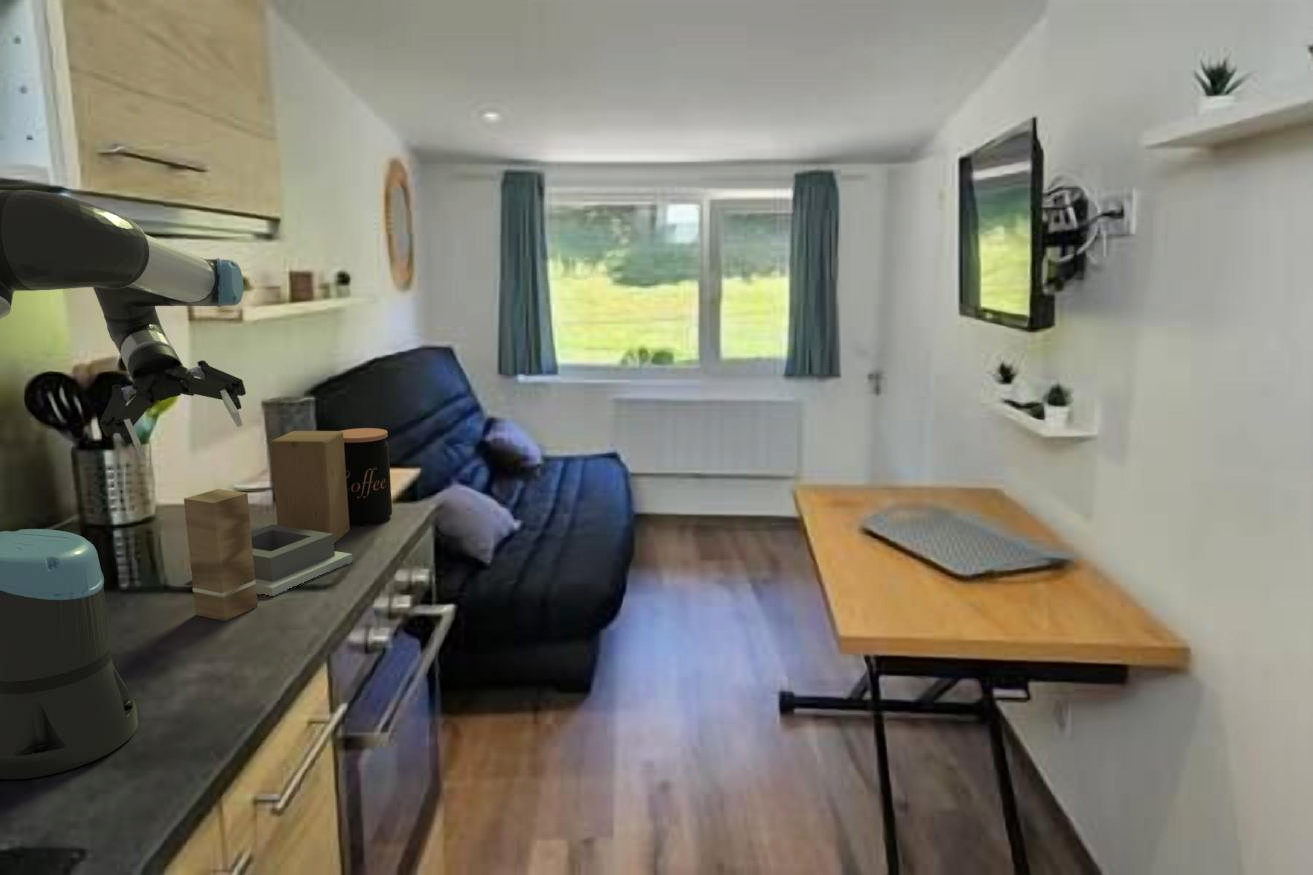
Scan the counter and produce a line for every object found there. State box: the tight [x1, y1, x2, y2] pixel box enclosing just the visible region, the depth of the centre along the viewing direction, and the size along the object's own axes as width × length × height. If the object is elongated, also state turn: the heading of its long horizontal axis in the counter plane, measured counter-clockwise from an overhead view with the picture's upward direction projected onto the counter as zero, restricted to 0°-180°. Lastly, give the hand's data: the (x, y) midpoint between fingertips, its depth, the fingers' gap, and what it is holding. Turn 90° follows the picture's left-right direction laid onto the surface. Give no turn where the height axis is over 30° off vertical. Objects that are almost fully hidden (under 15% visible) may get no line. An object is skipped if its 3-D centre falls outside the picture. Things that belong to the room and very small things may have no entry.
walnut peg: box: [183, 488, 258, 622], centre depth 134 cm, size 6×6×18 cm
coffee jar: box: [340, 427, 393, 527], centre depth 182 cm, size 11×11×18 cm
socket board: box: [189, 524, 353, 597], centre depth 153 cm, size 18×18×6 cm
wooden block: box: [270, 430, 351, 544], centre depth 169 cm, size 10×10×20 cm
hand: (190, 434), depth 132 cm, fingers open, 13 cm apart
